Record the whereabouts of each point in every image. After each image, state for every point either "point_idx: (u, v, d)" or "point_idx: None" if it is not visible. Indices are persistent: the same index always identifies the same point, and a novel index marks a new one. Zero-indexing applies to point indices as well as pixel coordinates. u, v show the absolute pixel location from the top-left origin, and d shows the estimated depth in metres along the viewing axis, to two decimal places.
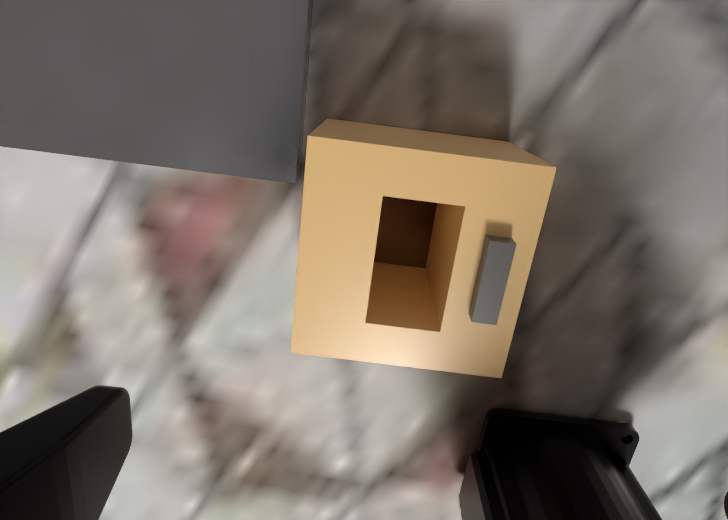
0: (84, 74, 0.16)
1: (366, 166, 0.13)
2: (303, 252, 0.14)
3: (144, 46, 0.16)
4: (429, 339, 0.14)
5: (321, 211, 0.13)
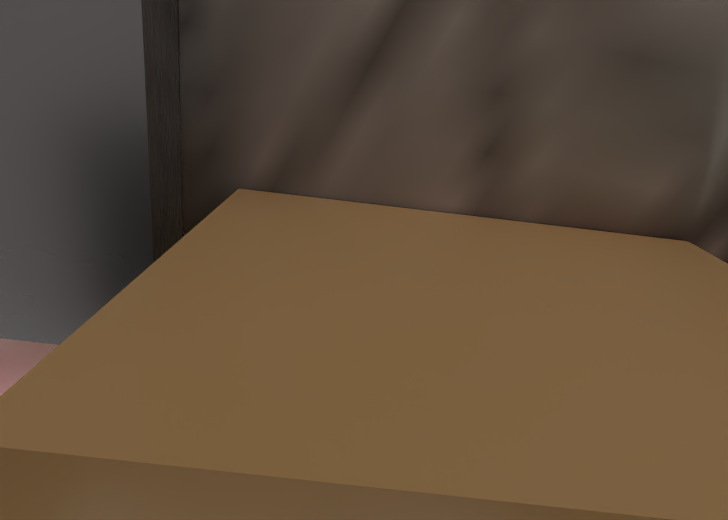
0: None
1: None
2: None
3: None
4: None
5: None
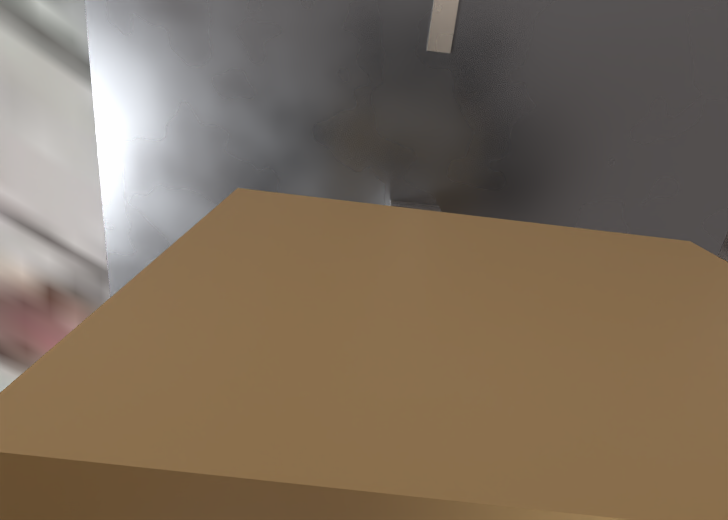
0: None
1: None
2: None
3: None
4: None
5: None
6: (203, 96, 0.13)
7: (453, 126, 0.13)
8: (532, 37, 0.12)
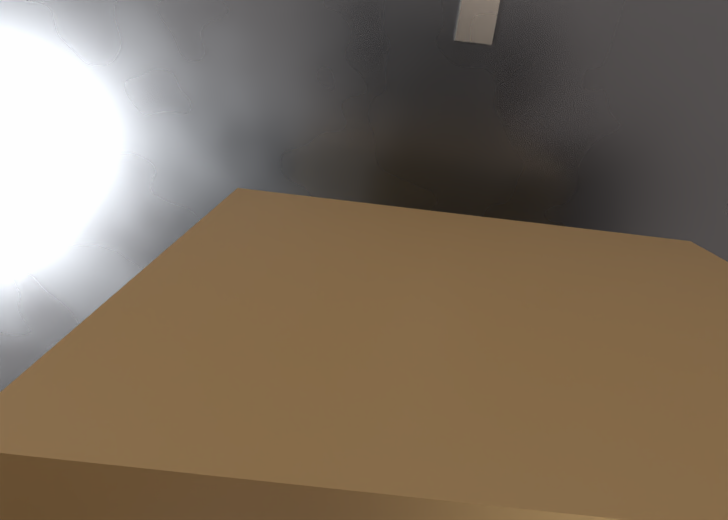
0: None
1: None
2: None
3: None
4: None
5: None
6: (113, 110, 0.09)
7: (492, 155, 0.09)
8: (621, 19, 0.08)
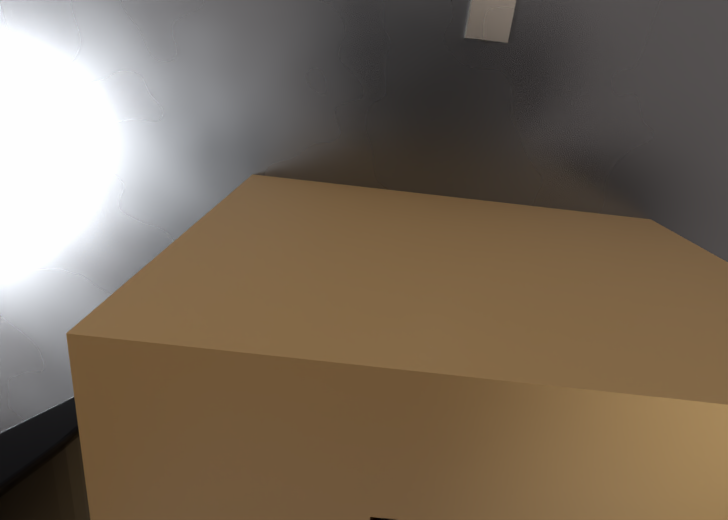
0: None
1: (305, 434, 0.03)
2: None
3: None
4: None
5: None
6: (73, 118, 0.08)
7: (507, 170, 0.08)
8: (658, 13, 0.07)
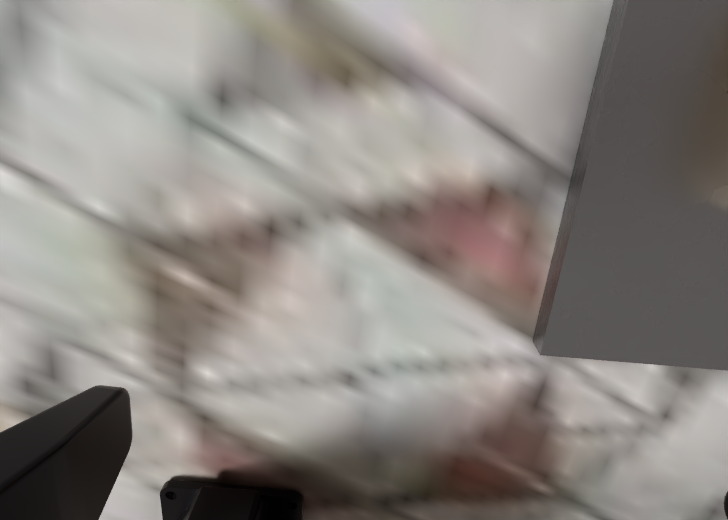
0: (670, 174, 0.16)
1: None
2: None
3: (684, 235, 0.16)
4: None
5: None
6: None
7: None
8: None
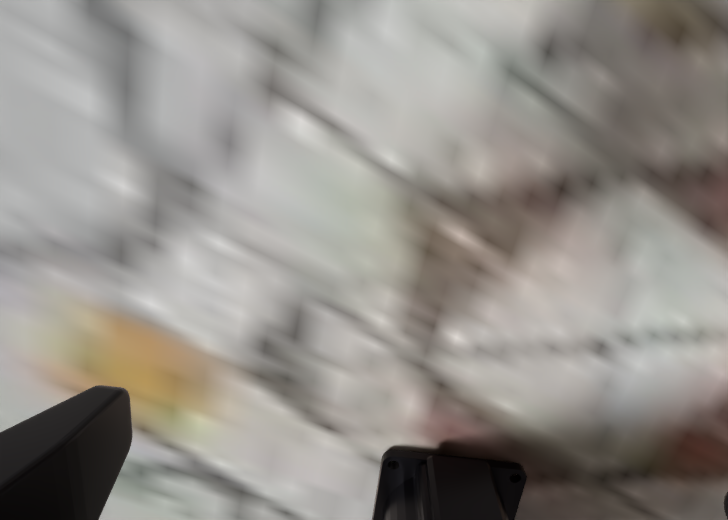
0: None
1: None
2: None
3: None
4: None
5: None
6: None
7: None
8: None
